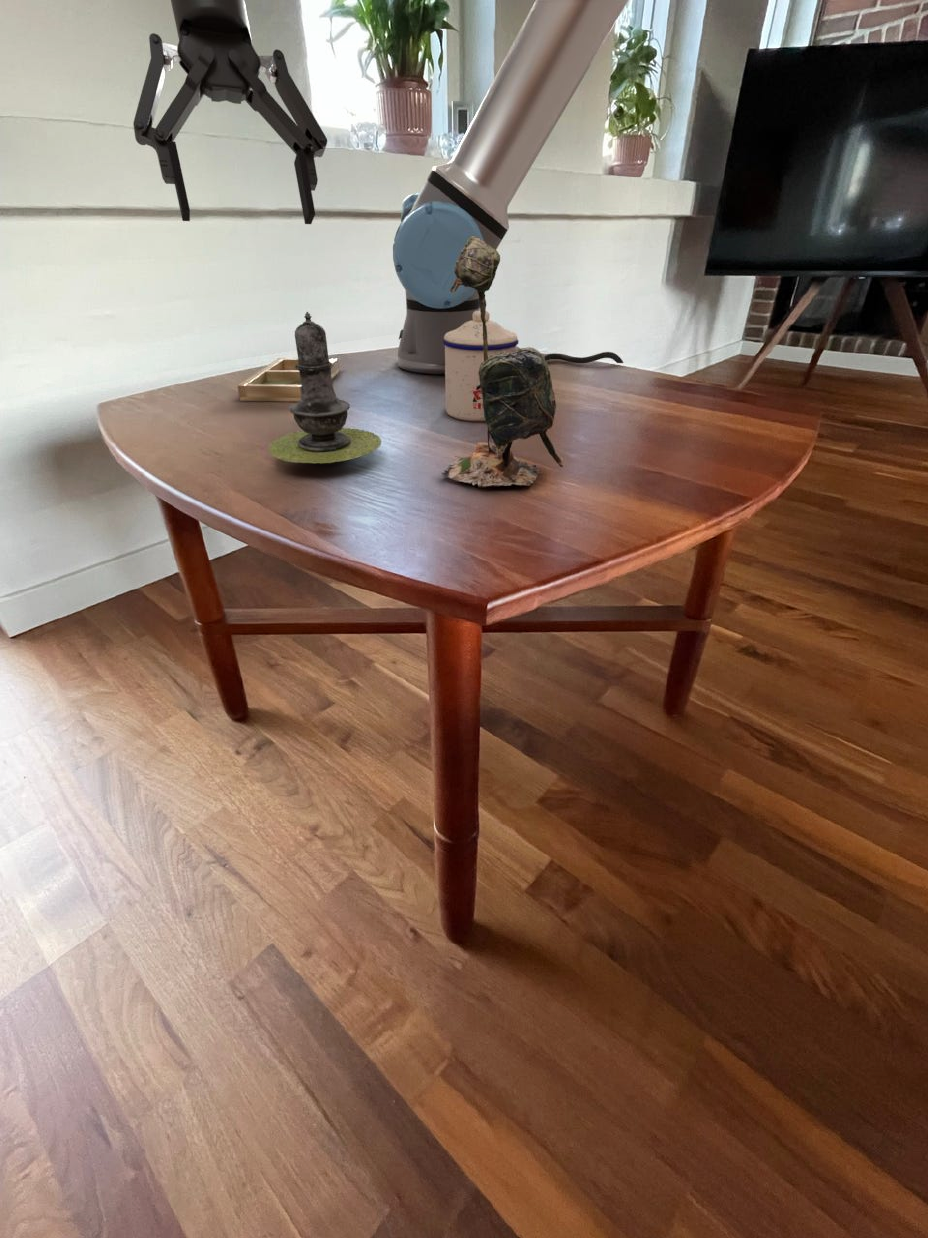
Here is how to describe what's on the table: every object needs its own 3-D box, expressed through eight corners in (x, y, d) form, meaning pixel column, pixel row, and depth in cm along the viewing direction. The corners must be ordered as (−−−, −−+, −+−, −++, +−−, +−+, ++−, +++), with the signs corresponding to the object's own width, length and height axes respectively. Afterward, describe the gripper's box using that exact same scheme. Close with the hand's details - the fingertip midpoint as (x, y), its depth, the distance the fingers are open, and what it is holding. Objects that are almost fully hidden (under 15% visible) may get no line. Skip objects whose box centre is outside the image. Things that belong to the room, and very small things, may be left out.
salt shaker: (332, 429, 66) (316, 305, 59) (365, 442, 63) (352, 311, 56) (283, 442, 63) (261, 311, 56) (316, 456, 59) (296, 318, 52)
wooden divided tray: (339, 371, 98) (337, 358, 97) (309, 401, 83) (307, 386, 82) (280, 371, 98) (278, 357, 97) (240, 400, 83) (237, 385, 82)
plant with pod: (531, 507, 54) (549, 239, 43) (429, 479, 59) (422, 235, 48) (574, 479, 59) (599, 235, 48) (477, 456, 65) (479, 232, 54)
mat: (304, 491, 57) (301, 470, 56) (253, 459, 64) (250, 440, 63) (404, 463, 63) (402, 445, 62) (347, 437, 70) (345, 420, 69)
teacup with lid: (477, 427, 73) (478, 319, 67) (429, 411, 79) (426, 310, 72) (545, 409, 80) (552, 309, 73) (496, 395, 85) (499, 302, 79)
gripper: (317, 38, 73) (349, 233, 78) (79, 5, 64) (131, 229, 68) (330, -12, 67) (364, 205, 71) (66, -57, 57) (125, 196, 62)
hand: (250, 217), depth 70 cm, fingers open, 13 cm apart
